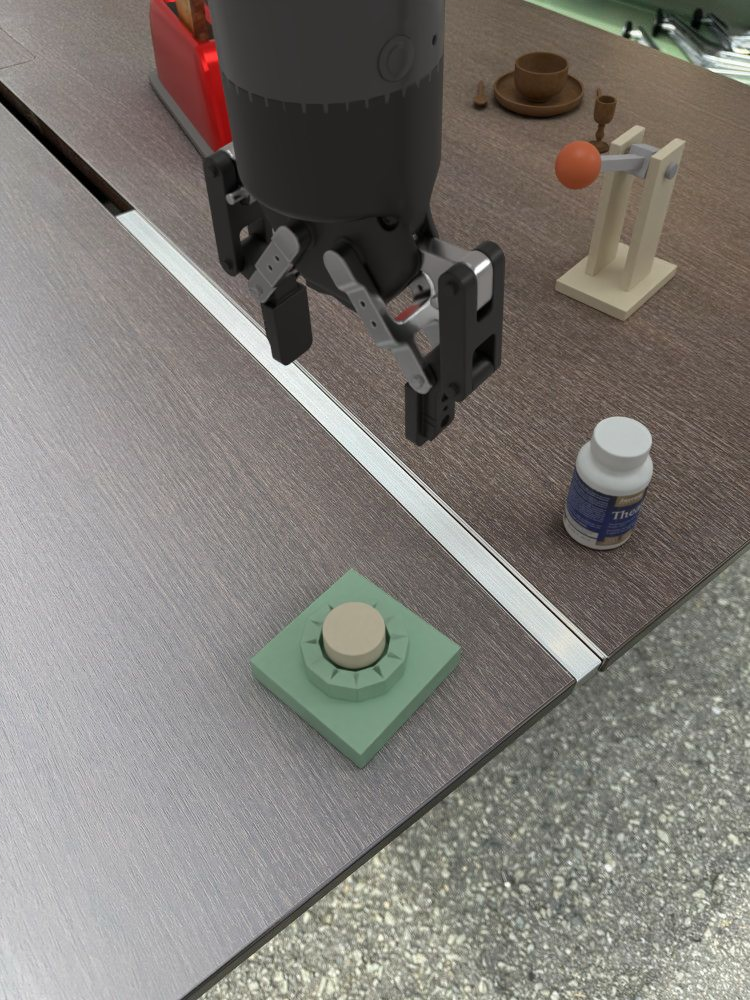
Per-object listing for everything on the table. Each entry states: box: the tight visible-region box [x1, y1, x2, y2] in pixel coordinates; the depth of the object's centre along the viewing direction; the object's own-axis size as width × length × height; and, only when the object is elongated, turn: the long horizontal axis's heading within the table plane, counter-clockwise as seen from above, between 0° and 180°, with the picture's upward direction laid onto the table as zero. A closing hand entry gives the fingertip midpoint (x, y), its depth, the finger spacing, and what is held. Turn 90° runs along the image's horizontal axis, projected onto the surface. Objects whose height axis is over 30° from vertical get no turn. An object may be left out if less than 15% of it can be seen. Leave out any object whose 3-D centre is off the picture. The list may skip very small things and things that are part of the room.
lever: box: [554, 140, 662, 191], centre depth 71 cm, size 16×4×4 cm, turn 138°
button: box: [322, 602, 385, 669], centre depth 54 cm, size 4×4×2 cm
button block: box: [248, 567, 462, 770], centre depth 56 cm, size 10×10×4 cm
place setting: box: [473, 51, 618, 154], centre depth 108 cm, size 18×20×6 cm
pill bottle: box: [562, 415, 654, 550], centre depth 62 cm, size 5×5×10 cm
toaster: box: [147, 0, 232, 159], centre depth 104 cm, size 32×13×19 cm, turn 26°
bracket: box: [554, 124, 687, 323], centre depth 80 cm, size 10×8×15 cm
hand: (356, 391), depth 40 cm, fingers open, 8 cm apart
